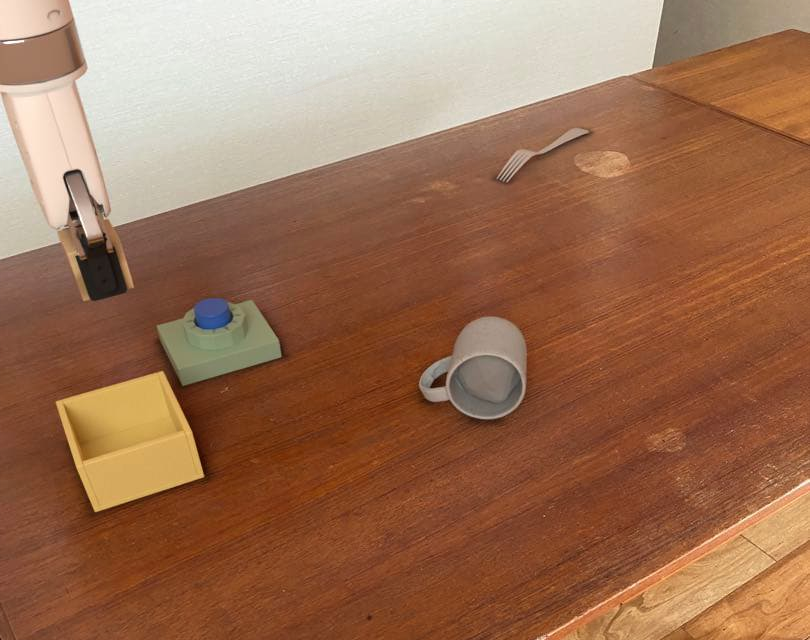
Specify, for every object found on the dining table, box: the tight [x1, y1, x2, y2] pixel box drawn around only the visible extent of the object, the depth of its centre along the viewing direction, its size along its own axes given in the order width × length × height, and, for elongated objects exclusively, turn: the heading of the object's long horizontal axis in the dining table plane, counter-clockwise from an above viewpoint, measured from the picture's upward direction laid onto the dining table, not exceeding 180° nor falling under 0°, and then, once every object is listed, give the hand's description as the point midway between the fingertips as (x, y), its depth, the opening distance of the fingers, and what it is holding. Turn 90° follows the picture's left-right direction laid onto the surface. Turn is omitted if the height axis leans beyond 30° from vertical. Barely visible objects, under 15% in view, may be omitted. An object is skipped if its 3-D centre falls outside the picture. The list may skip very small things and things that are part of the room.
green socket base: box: [156, 299, 282, 387], centre depth 93 cm, size 11×9×4 cm
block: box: [56, 218, 135, 302], centre depth 74 cm, size 4×4×4 cm
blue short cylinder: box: [193, 297, 231, 330], centre depth 91 cm, size 4×4×2 cm
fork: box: [496, 127, 590, 183], centre depth 125 cm, size 3×21×3 cm, turn 139°
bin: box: [55, 370, 205, 513], centre depth 80 cm, size 10×10×6 cm
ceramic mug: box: [418, 315, 528, 420], centre depth 85 cm, size 11×8×8 cm
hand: (101, 279), depth 75 cm, fingers closed on block, 4 cm apart
